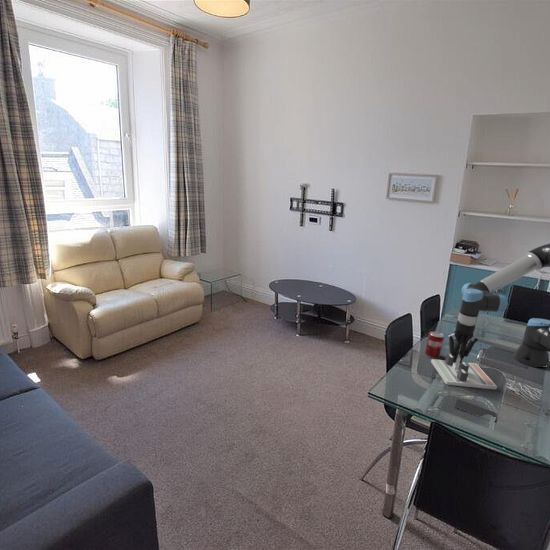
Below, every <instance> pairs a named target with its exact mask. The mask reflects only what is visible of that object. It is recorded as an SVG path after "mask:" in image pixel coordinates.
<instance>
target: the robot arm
mask: <svg viewBox="0 0 550 550" xmlns="http://www.w3.org/2000/svg"><path fill="white" fill-rule="evenodd" d="M543 268H550V243H546V244H543V245H540V246H537V247H535V248H532V249H531V250H529V251H527V252H525V254H524V256H522V257H521V258H519V259H517V260H515V261H514V262H512V263H510V264H508V265H507V266H505V267H503V268H501V269H499V270H497V271H496V272H494V273H492V274H490V275H489V276H486V277H485V278H483V279H481V280H479V281H478V282H475V283H472V282H469V283H467V282H466V283H465V284H464V285H463V286H462V288H461V295H462V297H461V303H460V308H459V312H458V316H457V321H456V325H455V330H454V332H453V333H451V334H450V333H449V334H447V337H448V342H449V344H448V345H449V347H448V348H449V354H451V355H452V356H453V359H452V361H453V366H452V367H453V369H454V370H458V368H459V364H460V363H462V362H463V359H465V357H466V358H467V357H469V354H470V352H471V351H472V349H473V347H474V346H475V344H476V343H477V342H478V341H479V339H478V338H477V337H476V336H474V332H475V328H476V325H477V322H478V318H479V317H478V316H479V314H480V312H488V313H489V312H491V313H493V312H495V313H497V312H504V311H506V309H507V308H508V306H509V305H508V304H509V303H508V299H507V297H506V296H505V295H501V294H494V293H495V292H496V291H498V290H500V289H502V288H503V287H506V286H508V285H510V284H511V283H513V282H515V281H516V280H518V279H520V278H522V277H524V276H526V275H528V274H529V273H531V272H533V271H534V270H537V271H539V270H541V269H543ZM549 353H550V319H545V318H538V317H537V318H535V317H532V318H530V319H529V320H528V322H527V324H526V327H525V331H524V335H523V337H522V341H521V343H520V345H519V346H518V348H517V349H516V350H515V351H514V353H513V357H514V359H515V360H516V361H518V362H520V363H521V362H522V363H521V364H524V365H527V366H529V367H532V366H534V367H533V368H536V367H543V366H546V365H548V366H549V364H550V357H549Z"/></svg>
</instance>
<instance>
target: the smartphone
mask: <svg viewBox="0 0 550 550" xmlns="http://www.w3.org/2000/svg"><path fill="white" fill-rule="evenodd" d="M453 407H454V409H456V408H457V409H456V410H458V409H460V410H459V411H461V410H462V411H461V412H463V413H466V412H468V413H467V414H469V413H471V414H470V415H472V414H474V415H473V416H475V415H478V416H483V415H485V414H486V415H487V414H489V415H492V416H493V417H496V418H497V412H495V411H492V410H489V409H487V408H484V407H482V406H478V405H476V404H474V403H470V402H468V401H465V400H462V399H460V398H456V399H455V401H454V405H453ZM478 416H477V417H478Z"/></svg>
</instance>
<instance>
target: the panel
mask: <svg viewBox="0 0 550 550" xmlns="http://www.w3.org/2000/svg"><path fill="white" fill-rule="evenodd" d="M463 362H464V361H463ZM430 363H431V364H432V366H433V367H434V368H435V370H436V371H437V373H438V374H439V375H440V378H442V380H443V382H444V383H445V384H447V385H449V386H459V387H466V388H467V387H469V388H478V389H488V390H497V389H498V386H497V385H496V383H495V382H494V381H493V380H492V379H491V378H490V377H489V376H488V375H487V374H486V373H485V371H484V370H483V369H482V368H481V367H480V366H479V365H478V364H477V363H476V362H475V363H474V362H464V363H467V364H468V366H469V369H468V377H467V380H466V381H459V380H458V378H457V374H458V370H454V369H453V367H452V366H453V365H447V364H446V362H445V360H443V359H437V358H436V359H435V358H431V359H430Z"/></svg>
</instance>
